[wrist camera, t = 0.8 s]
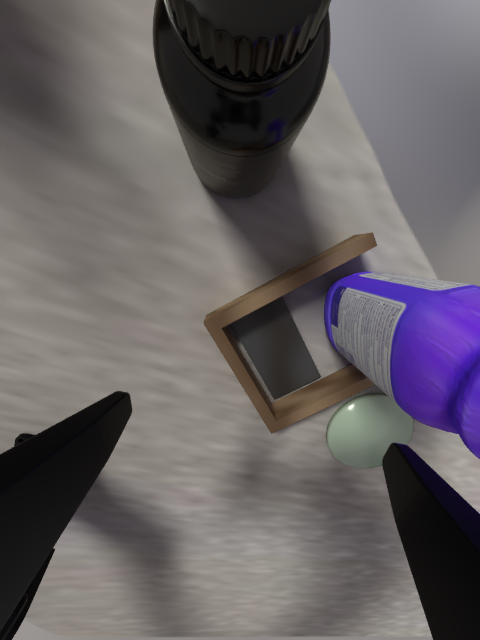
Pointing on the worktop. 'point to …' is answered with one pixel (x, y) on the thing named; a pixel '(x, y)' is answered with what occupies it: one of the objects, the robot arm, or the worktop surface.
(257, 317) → the wooden u-shaped frame
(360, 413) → the coaster
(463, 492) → the worktop surface
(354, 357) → the bottle
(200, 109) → the supplement bottle
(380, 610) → the worktop surface
